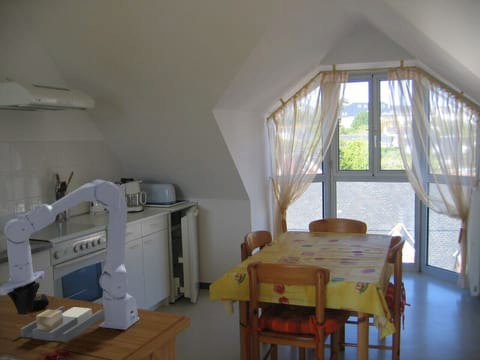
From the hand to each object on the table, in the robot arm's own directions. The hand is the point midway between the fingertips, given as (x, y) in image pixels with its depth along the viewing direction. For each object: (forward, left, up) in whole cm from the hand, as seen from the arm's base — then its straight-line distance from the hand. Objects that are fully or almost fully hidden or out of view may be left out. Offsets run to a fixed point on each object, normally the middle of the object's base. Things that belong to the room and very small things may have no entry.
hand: (25, 311), depth 130 cm
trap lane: (0, -14, -10) cm, 17 cm away
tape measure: (+21, -27, -11) cm, 35 cm away
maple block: (0, -9, -8) cm, 12 cm away
